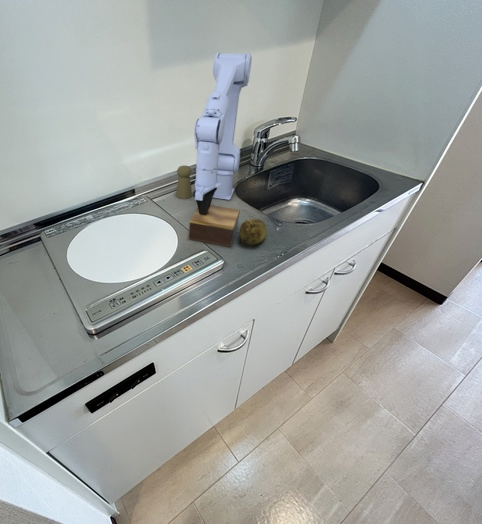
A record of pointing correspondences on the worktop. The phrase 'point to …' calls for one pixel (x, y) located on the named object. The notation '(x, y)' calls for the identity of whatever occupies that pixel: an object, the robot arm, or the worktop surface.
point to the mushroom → (184, 182)
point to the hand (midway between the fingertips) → (204, 211)
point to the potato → (253, 231)
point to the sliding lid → (217, 216)
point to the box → (212, 232)
